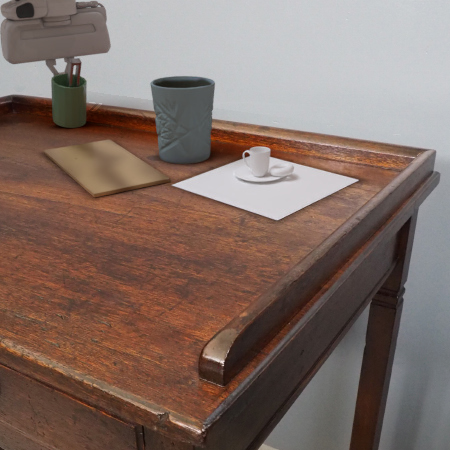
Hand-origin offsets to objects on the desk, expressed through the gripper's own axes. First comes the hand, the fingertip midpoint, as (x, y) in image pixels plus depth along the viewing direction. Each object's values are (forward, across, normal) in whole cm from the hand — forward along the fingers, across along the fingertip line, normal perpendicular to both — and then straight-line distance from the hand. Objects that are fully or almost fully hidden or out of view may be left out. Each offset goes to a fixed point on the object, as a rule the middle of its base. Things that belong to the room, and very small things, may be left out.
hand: (63, 82), depth 120 cm
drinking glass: (+8, -9, +33) cm, 35 cm away
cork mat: (+7, +5, +30) cm, 32 cm away
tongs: (0, 0, +6) cm, 6 cm away
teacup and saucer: (+8, -12, +51) cm, 53 cm away
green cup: (+7, +1, +2) cm, 7 cm away
